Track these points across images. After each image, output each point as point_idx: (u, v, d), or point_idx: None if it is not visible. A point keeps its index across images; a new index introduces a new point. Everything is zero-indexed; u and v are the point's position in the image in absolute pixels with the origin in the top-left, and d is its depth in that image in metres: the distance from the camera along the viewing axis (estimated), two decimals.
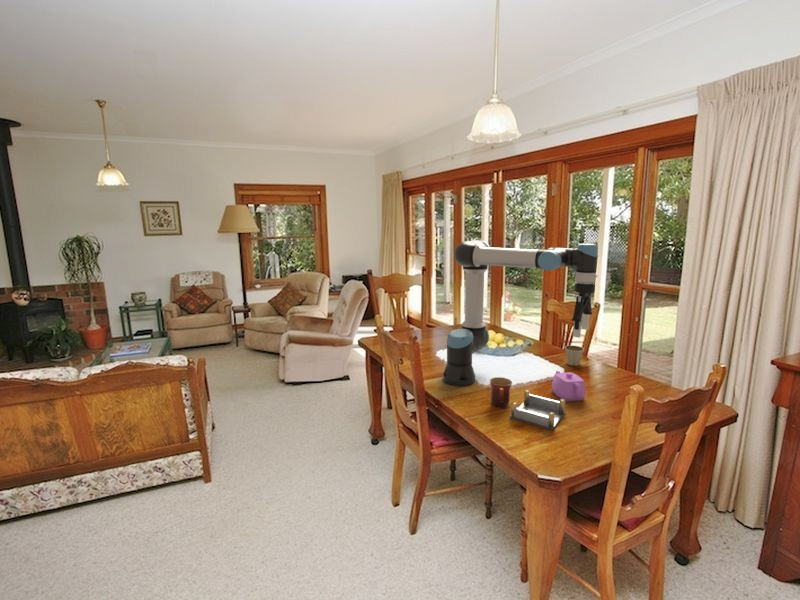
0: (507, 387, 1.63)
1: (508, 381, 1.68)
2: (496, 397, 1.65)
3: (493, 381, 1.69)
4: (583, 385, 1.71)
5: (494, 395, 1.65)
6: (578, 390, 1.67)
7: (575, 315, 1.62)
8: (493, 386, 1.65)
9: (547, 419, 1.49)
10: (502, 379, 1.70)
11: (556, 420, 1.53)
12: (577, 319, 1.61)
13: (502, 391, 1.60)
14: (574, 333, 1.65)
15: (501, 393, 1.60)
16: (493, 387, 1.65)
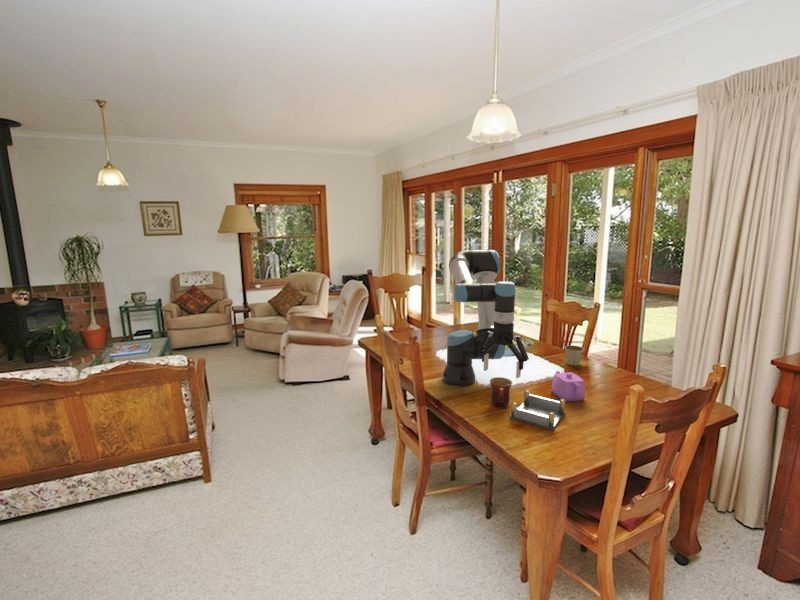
0: (507, 387, 1.63)
1: (508, 381, 1.68)
2: (496, 397, 1.65)
3: (493, 381, 1.69)
4: (583, 385, 1.71)
5: (494, 395, 1.65)
6: (578, 390, 1.67)
7: None
8: (493, 386, 1.65)
9: (547, 419, 1.49)
10: (502, 379, 1.70)
11: (556, 420, 1.53)
12: None
13: (502, 391, 1.60)
14: None
15: (501, 393, 1.60)
16: (493, 387, 1.65)
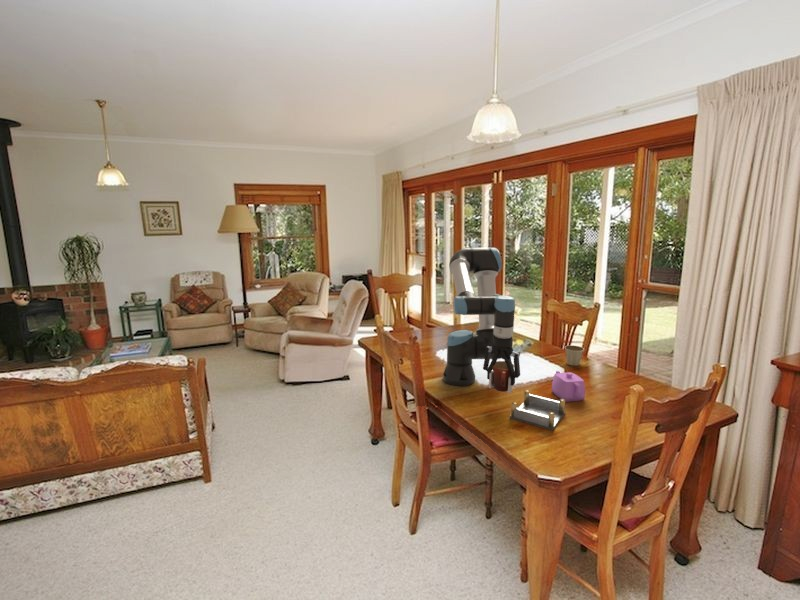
0: None
1: None
2: (498, 381, 1.64)
3: (495, 365, 1.68)
4: (583, 385, 1.71)
5: (496, 379, 1.64)
6: (578, 390, 1.67)
7: None
8: (495, 370, 1.64)
9: (547, 419, 1.49)
10: (504, 363, 1.69)
11: (556, 420, 1.53)
12: None
13: (504, 375, 1.59)
14: None
15: (503, 377, 1.59)
16: (495, 371, 1.64)
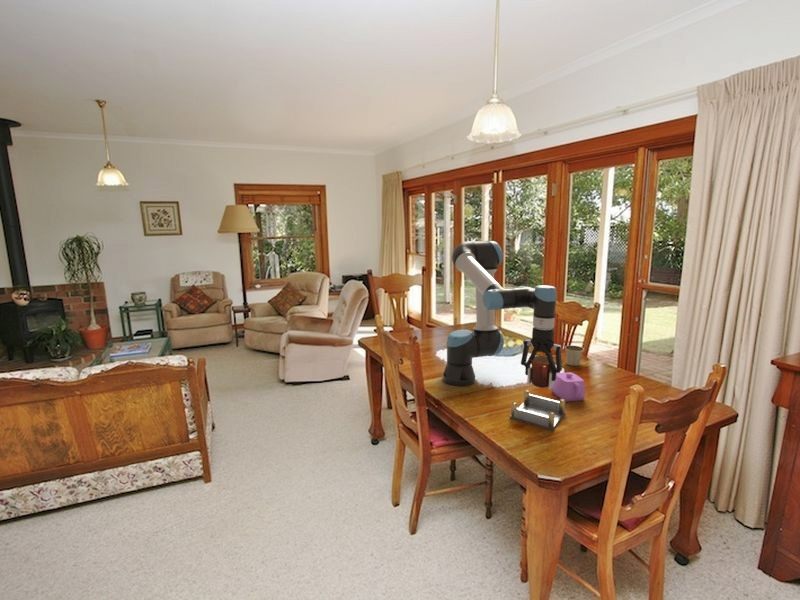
0: None
1: None
2: (538, 376, 1.54)
3: (533, 360, 1.59)
4: (583, 385, 1.71)
5: (535, 374, 1.55)
6: (578, 390, 1.67)
7: None
8: (534, 364, 1.54)
9: (547, 419, 1.49)
10: (543, 357, 1.59)
11: (556, 420, 1.53)
12: None
13: (545, 369, 1.49)
14: None
15: (544, 371, 1.49)
16: (534, 365, 1.54)
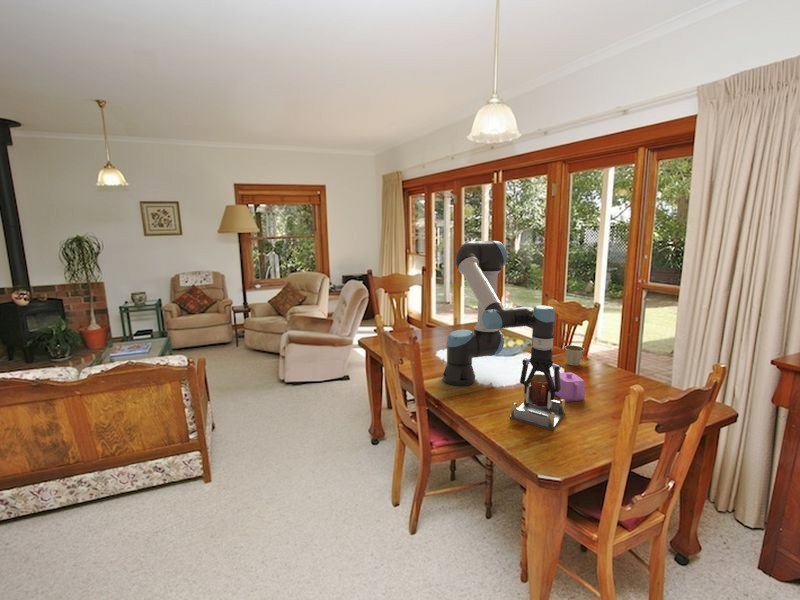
0: None
1: None
2: (537, 395, 1.55)
3: (532, 378, 1.60)
4: (583, 385, 1.71)
5: (534, 393, 1.56)
6: (578, 390, 1.67)
7: None
8: (533, 383, 1.55)
9: (547, 419, 1.49)
10: (542, 376, 1.61)
11: (556, 420, 1.53)
12: None
13: (544, 388, 1.51)
14: None
15: (543, 390, 1.50)
16: (533, 384, 1.56)
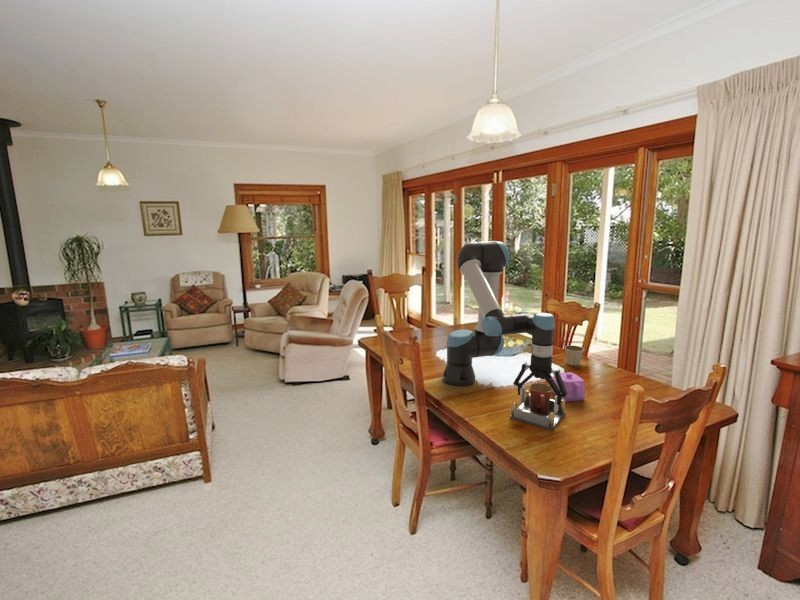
0: (548, 393, 1.54)
1: (548, 387, 1.59)
2: (536, 404, 1.56)
3: (532, 387, 1.61)
4: (583, 385, 1.71)
5: (534, 402, 1.57)
6: (578, 390, 1.67)
7: None
8: (533, 392, 1.56)
9: (547, 419, 1.49)
10: (541, 385, 1.61)
11: (556, 420, 1.53)
12: None
13: (543, 398, 1.51)
14: None
15: (542, 400, 1.51)
16: (533, 393, 1.56)
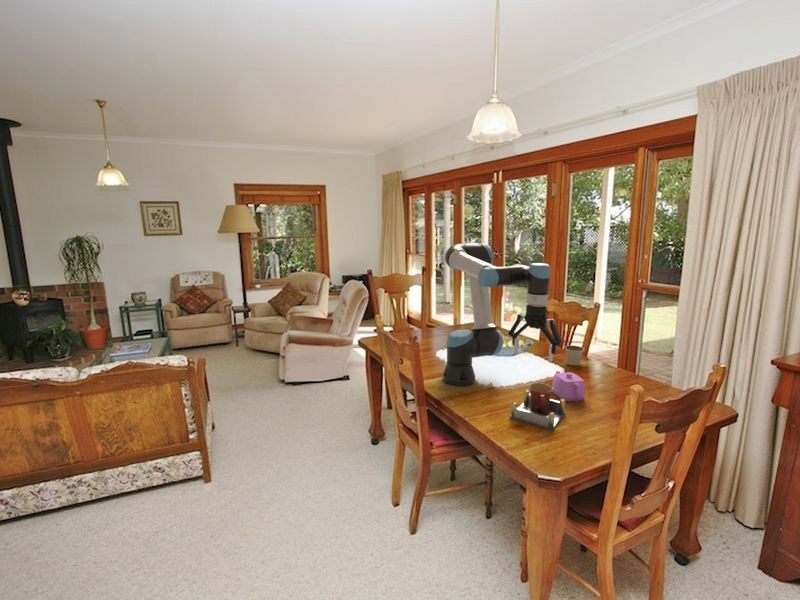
0: (548, 393, 1.54)
1: (548, 387, 1.59)
2: (536, 404, 1.56)
3: (532, 387, 1.61)
4: (583, 385, 1.71)
5: (534, 402, 1.57)
6: (578, 390, 1.67)
7: None
8: (533, 392, 1.56)
9: (547, 419, 1.49)
10: (541, 385, 1.61)
11: (556, 420, 1.53)
12: None
13: (543, 398, 1.51)
14: None
15: (543, 400, 1.51)
16: (533, 393, 1.56)
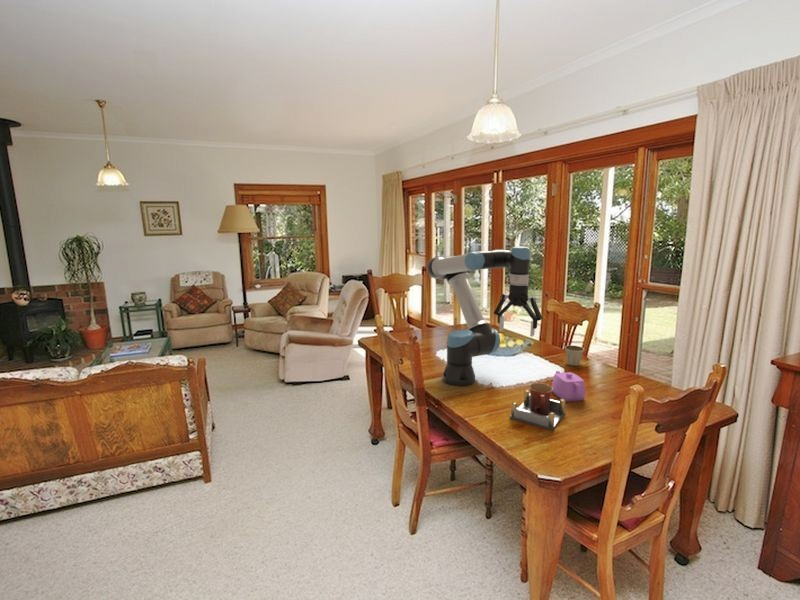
0: (548, 393, 1.54)
1: (548, 387, 1.59)
2: (536, 404, 1.56)
3: (532, 387, 1.61)
4: (583, 385, 1.71)
5: (534, 402, 1.57)
6: (578, 390, 1.67)
7: None
8: (533, 392, 1.56)
9: (547, 419, 1.49)
10: (541, 385, 1.61)
11: (556, 420, 1.53)
12: None
13: (543, 398, 1.51)
14: None
15: (542, 400, 1.51)
16: (533, 393, 1.56)
